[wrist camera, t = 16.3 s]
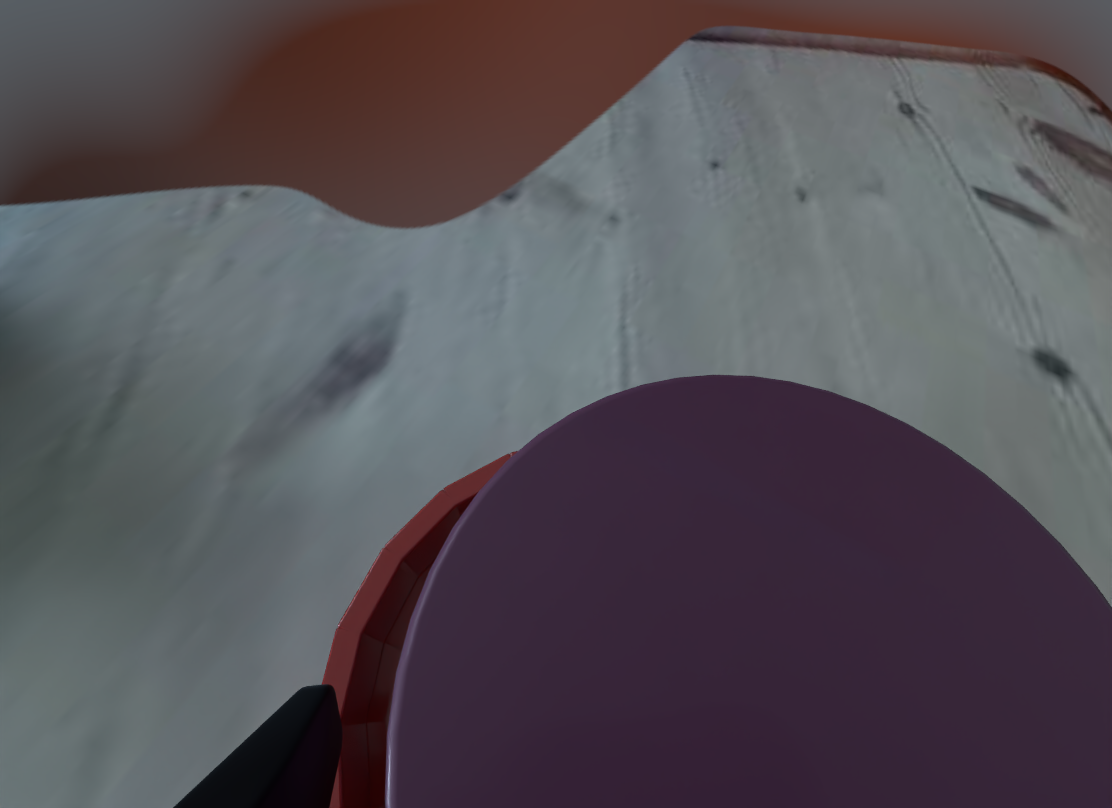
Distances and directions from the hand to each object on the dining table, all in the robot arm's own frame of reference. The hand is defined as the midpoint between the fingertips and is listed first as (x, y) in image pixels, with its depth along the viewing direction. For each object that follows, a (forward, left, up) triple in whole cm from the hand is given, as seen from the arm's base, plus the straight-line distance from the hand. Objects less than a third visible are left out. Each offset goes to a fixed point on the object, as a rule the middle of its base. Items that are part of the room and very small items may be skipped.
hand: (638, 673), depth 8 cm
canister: (0, 0, -8) cm, 8 cm away
